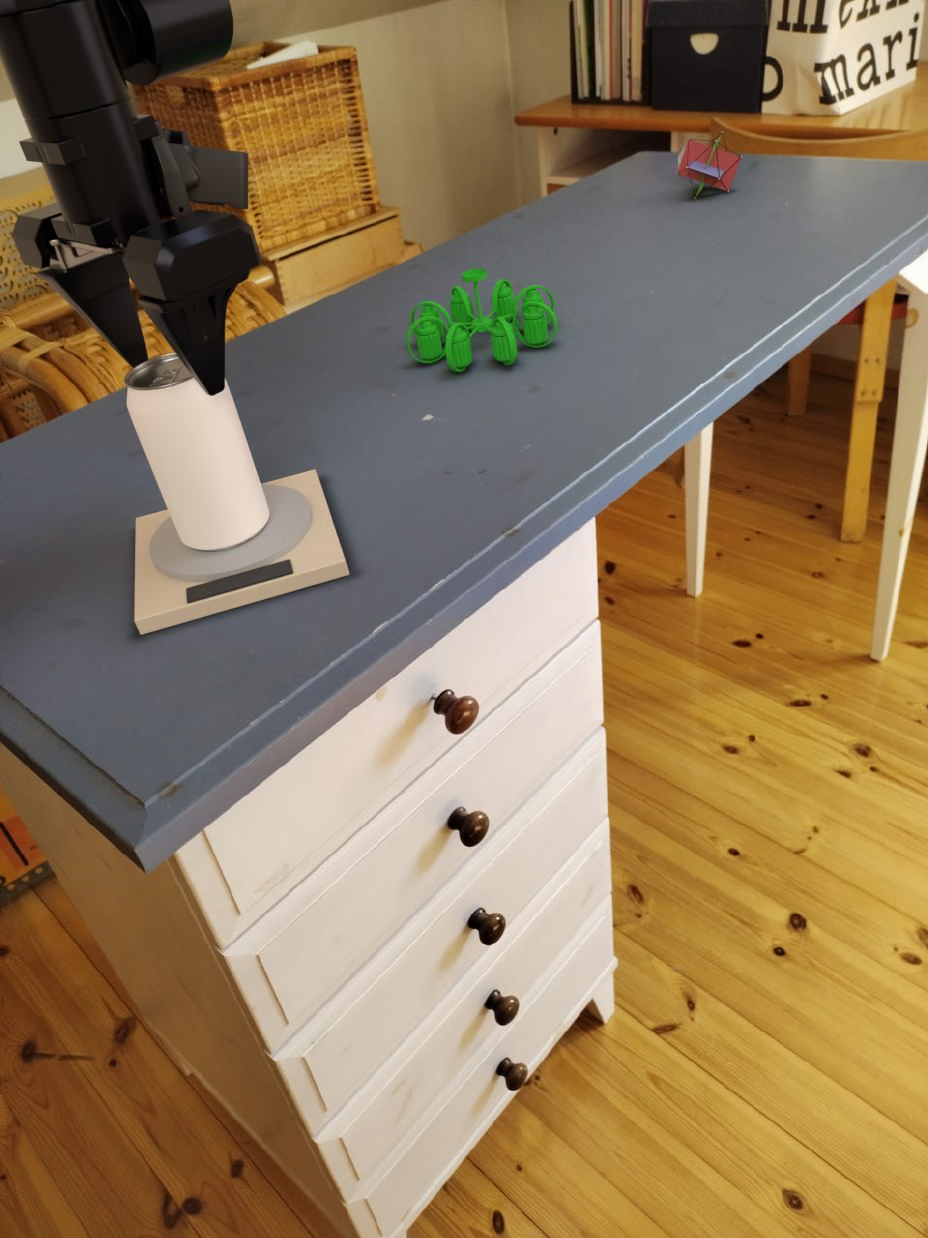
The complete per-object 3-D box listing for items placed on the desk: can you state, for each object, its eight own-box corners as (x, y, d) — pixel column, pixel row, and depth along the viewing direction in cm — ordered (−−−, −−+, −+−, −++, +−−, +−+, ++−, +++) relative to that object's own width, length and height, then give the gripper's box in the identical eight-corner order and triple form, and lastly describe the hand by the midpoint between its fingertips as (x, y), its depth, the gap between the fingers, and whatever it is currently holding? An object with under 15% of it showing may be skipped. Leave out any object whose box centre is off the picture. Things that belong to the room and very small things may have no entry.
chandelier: (380, 377, 88) (364, 303, 84) (447, 314, 99) (435, 246, 94) (530, 382, 82) (520, 304, 78) (584, 315, 93) (578, 242, 88)
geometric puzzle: (757, 163, 117) (718, 109, 115) (748, 179, 112) (706, 123, 110) (710, 202, 122) (671, 151, 120) (699, 219, 117) (659, 166, 115)
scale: (140, 635, 61) (130, 613, 60) (141, 531, 72) (132, 510, 71) (349, 575, 63) (343, 552, 62) (319, 482, 74) (313, 461, 73)
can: (281, 500, 69) (231, 342, 62) (257, 550, 64) (199, 384, 56) (198, 508, 70) (139, 353, 63) (168, 558, 65) (100, 395, 58)
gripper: (298, 67, 49) (365, 354, 59) (124, 74, 61) (203, 312, 70) (110, 125, 44) (217, 431, 53) (-42, 120, 55) (68, 372, 65)
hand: (177, 379), depth 60 cm, fingers open, 9 cm apart
